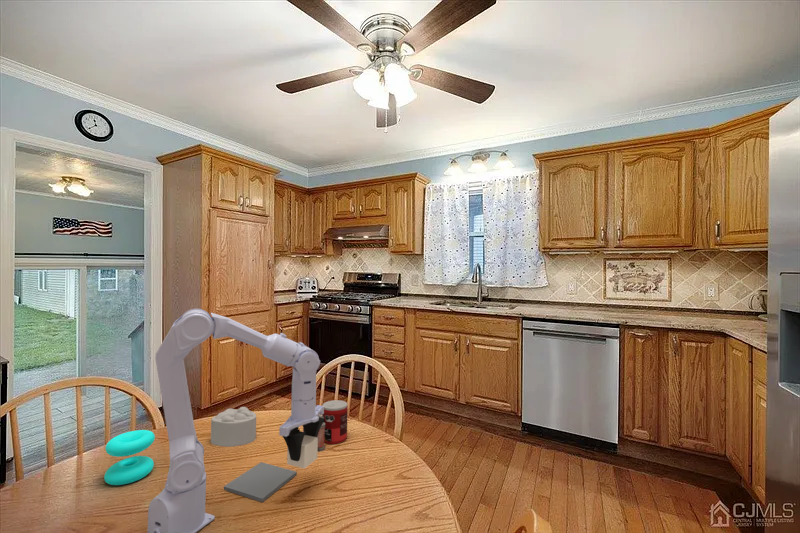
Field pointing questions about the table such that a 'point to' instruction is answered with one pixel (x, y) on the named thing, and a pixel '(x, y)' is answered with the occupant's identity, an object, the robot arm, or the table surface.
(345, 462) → the table surface
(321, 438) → the lighter
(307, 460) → the cube
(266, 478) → the grey square plate
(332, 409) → the canned food
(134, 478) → the donuts
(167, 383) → the robot arm
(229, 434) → the lumpy-topped squat cylinder
